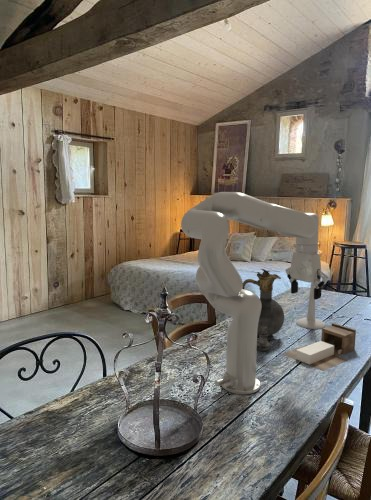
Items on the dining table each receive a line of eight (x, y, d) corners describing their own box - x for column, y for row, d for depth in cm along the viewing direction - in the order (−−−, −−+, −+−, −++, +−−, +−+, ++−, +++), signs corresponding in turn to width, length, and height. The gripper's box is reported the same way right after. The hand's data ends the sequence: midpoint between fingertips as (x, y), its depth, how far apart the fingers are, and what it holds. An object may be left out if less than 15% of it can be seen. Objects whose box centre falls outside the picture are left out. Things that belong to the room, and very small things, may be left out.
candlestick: (330, 325, 189) (334, 262, 185) (312, 331, 182) (316, 265, 178) (308, 318, 200) (311, 258, 195) (290, 323, 193) (293, 260, 188)
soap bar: (309, 364, 145) (310, 355, 145) (295, 358, 150) (296, 349, 149) (333, 354, 154) (334, 345, 154) (320, 349, 159) (320, 340, 158)
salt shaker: (270, 356, 155) (271, 325, 153) (254, 354, 156) (255, 324, 154) (270, 350, 161) (271, 320, 159) (255, 348, 162) (256, 319, 160)
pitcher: (276, 345, 165) (280, 273, 161) (235, 335, 176) (236, 267, 171) (286, 337, 174) (289, 268, 169) (246, 328, 185) (248, 263, 180)
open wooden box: (323, 373, 140) (324, 348, 139) (281, 356, 155) (282, 333, 153) (364, 355, 156) (365, 332, 155) (323, 340, 170) (324, 320, 169)
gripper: (280, 247, 147) (279, 292, 150) (321, 253, 133) (320, 303, 136) (293, 244, 151) (292, 288, 154) (334, 250, 137) (333, 298, 140)
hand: (305, 295), depth 145 cm, fingers open, 9 cm apart
